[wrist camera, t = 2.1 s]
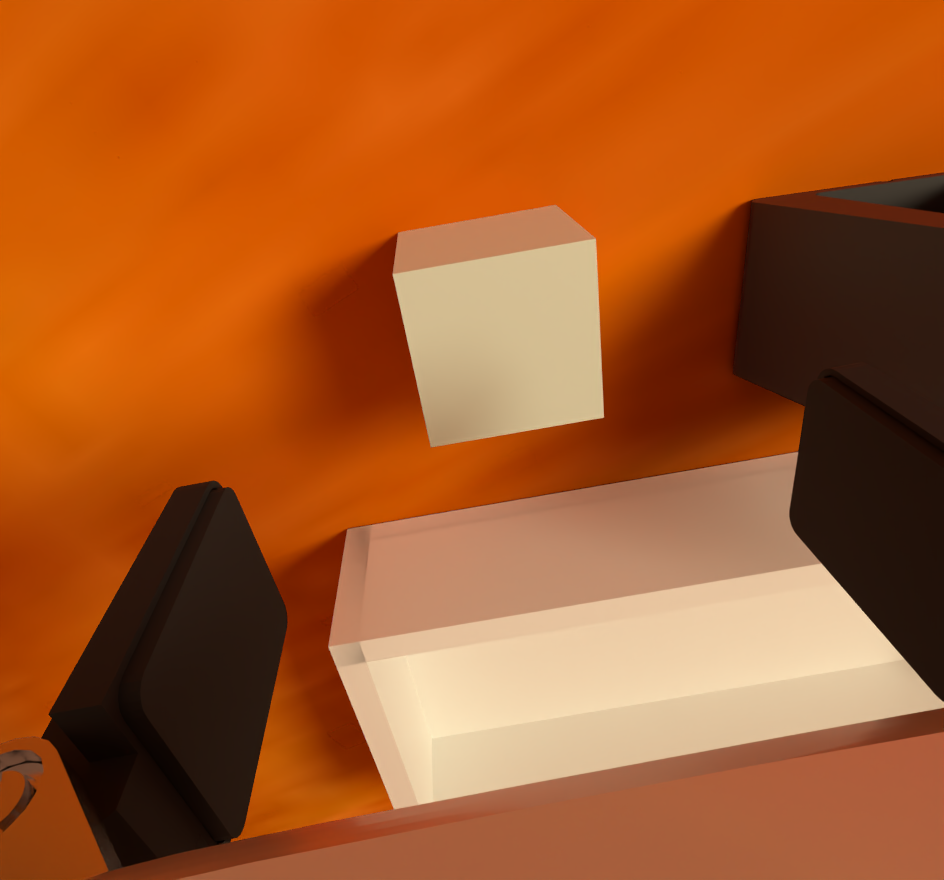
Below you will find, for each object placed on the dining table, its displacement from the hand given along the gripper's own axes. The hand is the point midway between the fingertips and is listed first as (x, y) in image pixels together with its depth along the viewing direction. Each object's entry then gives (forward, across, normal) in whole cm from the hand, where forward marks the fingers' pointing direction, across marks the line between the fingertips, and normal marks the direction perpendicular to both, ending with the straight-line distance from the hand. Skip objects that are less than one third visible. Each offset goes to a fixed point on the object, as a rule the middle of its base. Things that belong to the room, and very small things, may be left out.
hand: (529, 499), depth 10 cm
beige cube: (+12, -1, 0) cm, 12 cm away
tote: (+11, -9, +16) cm, 21 cm away
